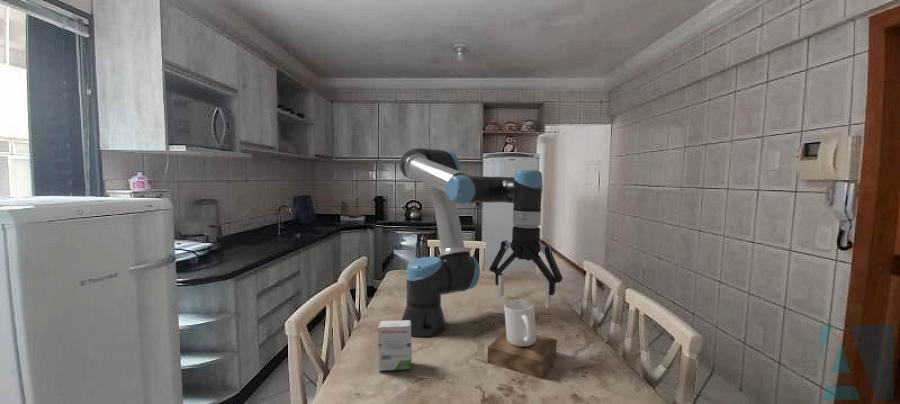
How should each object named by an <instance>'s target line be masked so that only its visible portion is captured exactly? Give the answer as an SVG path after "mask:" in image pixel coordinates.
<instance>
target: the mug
mask: <svg viewBox="0 0 900 404" xmlns="http://www.w3.org/2000/svg"><path fill="white" fill-rule="evenodd" d="M503 307H504V308H503V309H504V318H505V320H504V321H505V330H506V335H507V340H508V342H509V343H510V344H512V345H514V346H519V347H525V346H530V345H532V344H534V343H535V341H536V335H537V329H536V317H535V315H536V313H535V305H534V303H533V302H531V301H529V300H523V299H519V300H511V301H508V302H505V303H504V305H503Z"/></svg>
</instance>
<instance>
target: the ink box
mask: <svg viewBox="0 0 900 404" xmlns="http://www.w3.org/2000/svg"><path fill="white" fill-rule="evenodd" d="M377 328H378V330H377V336H378V339H377V340H378V342H377V343H378V348H377V349H378V352H377V353H378V355H377V356H378V371H381V372H383V371H401V370H402V371H403V370H404V371H405V370H412V336H411V320H402V319H401V320H380V321H379V323H378V327H377Z"/></svg>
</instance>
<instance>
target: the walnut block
mask: <svg viewBox="0 0 900 404" xmlns="http://www.w3.org/2000/svg"><path fill="white" fill-rule="evenodd" d="M557 342H558V341H557V339H556V338H552V337H548V336H543V335H538V334H536V341H535V343H534V344H532V345H530V346H525V347H519V346H514V345H512V344H510V343H509V342H508V340H507V335H506V329H505V330H504V331H503V332H502V333H501V334H500V335H498V336H497V338H496V339H495V340H494V341H493V342H491V343H490V344H489V345H488V346H487V358H486V359H487V361H486V362H487V364H490V365H493V366H497V367H500V368H503V369H506V370H509V371H513V372H516V373H521V374H523V375H526V376H531V377H534V378H538V379H541V380H542V379H543V378H544V376H545V374H546V372H547V371H548V369H549V368H550V366H551V364H552V363H553V361H554V359H555V357H556V356H557V347H558V345H557Z"/></svg>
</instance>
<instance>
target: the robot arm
mask: <svg viewBox="0 0 900 404" xmlns="http://www.w3.org/2000/svg"><path fill="white" fill-rule="evenodd" d="M399 169H400V172H401V174H403V176H404V177H406V178H407V179H409V180H412V181H413V182H417V181H420V182H422V183H424V184H425V185H426V187H427V188H428V189H429V190H430V191H431V196H432V203H433V208H434V216H435V221H436V226H437V232H438V238H439V245H440V250H441V252H440V254H439V255H438V257H437V256H423V257H419V258H415V259H413V260H411V261H410V262H409V263H408V265H407V269H406V275H405V278H406V305H405V308H404V309H405V310H404V312H403V316H402V318H401V320H411V337H419V338H420V337H421V338H422V337H423V338H425V337H433V336H437V335H440V334H442V333H443V332H445V331H446V326H447V325H446V318H445V315H444V311H443V307H442V304H441V303H442V296H443V295H447V294H453V293H459V292H466V291H467V290H472V289H473V288H475V287H476V285H477V284H478V282H479V281H480V276H481V269H480V264H479V262H478V260H477V259H476V257H473V256H471V252H470V250H469V249H468V248H466V247H465V244H464V243H465V242H464V237H463V232H462V231H463V230H462V227H461V226H462V225H461V221H460V215H459V209H458V204H464V205H465V204H475V203H476V204H479V203H509V204H513V210H512V224H513V227H512V236H511V238H512V241H509V240H507V239H505V240H503V241H501V242H500V248H499V250H498V252H497V254H496V256H494V257H495V258H494V259H493V262H492V263H491V265H490V267H489V272H491V273H494V274H495V282H494V283H495V286H498V287H497V298H498V299H501V298H503V297H504V296H505V273H503V272H504V270H506V269H507V267H508V266H509V265H510V264H512V262H514V260H515V259H516V258H517V259H518V260H526V261H532V262H533V263H534V264H535V265H536V267H537V268H538V269H539V270H540V272H541V273H542V274H543V276H544V277H545V279H546V280H547V282H546V283H545V301H544V302H545V303H544V308H547V309H548V308H549V307H550V306H551V302H552V301H551V300H552V296H554V295H555V293H556V283H558V284H559V283H561V282H562V281H563V276H562V273H561V271H560V269H559V266H558V264H557V262H556V259H555V257H554V255H553V249H552V245H541V242H540V241H541V228H540V226H541V224H542V223H541V222H542V221H541V220H542V199H543V198H542V197H543V195H542V194H543V187H544V186H543V173H542V172H541V171H540V170H538V169H537V170H534V169H517V170H515V172H514V176H512V177H510V176H485V175H484V176H480V175H479V176H478V175H470V174H468V173H465V172H462V171H460V169H461V165H460V160H459V157H458V156H457V155H456V154H455V153H454V152H453V151H451V150H445V149H434V148H432V149H431V148H420V147H417V148H416V147H415V148H411V149H408V150H407V151H406V152H404V153H403V154H402V156H401V158H400V161H399ZM457 203H458V204H457ZM509 248H511V250H512V253H511V254H510V255H509V256H508V257H507V259H506V260H505V261H504V262H502V264H501V265H500V263H501V261H502V259H503V257H504V255H505V254H506V252H507V250H508V249H509ZM540 252H542V253H543V255H544V256H545V259H546V261H547V262H548V266H549V267H548V266H547V265H546V263H545V262H544V260H543V259H542V257H541V255H540V254H539V253H540ZM499 265H500V266H499ZM498 266H499V267H498ZM549 268H550V269H549ZM550 270H551V271H550Z"/></svg>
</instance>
